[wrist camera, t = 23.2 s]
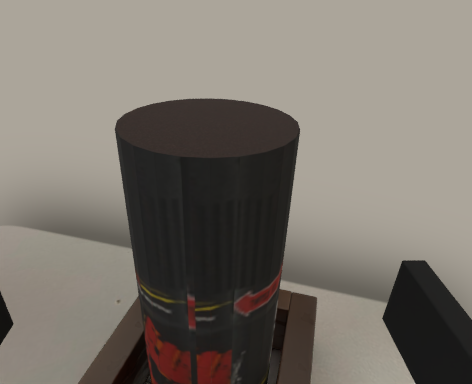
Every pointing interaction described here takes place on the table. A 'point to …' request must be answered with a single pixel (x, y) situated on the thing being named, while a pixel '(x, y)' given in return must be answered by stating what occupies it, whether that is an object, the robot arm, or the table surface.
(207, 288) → the deodorant
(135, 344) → the frame
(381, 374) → the table surface
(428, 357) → the robot arm
